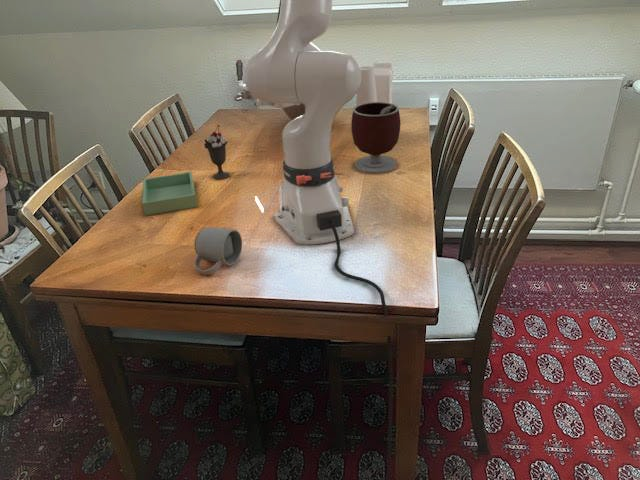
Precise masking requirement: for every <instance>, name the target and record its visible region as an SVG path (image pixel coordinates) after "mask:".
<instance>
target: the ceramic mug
mask: <svg viewBox="0 0 640 480" xmlns="http://www.w3.org/2000/svg"><path fill="white" fill-rule="evenodd" d="M242 250H243V239H242V235H241V233H240V232H239V231H238V229H234V228H223V227H215V226H214V227H213V226H209V227H208V226H207V227H203V228H201V229H200V230H199V231H198V233H197V234H196V236H195V239H194V251H195V253H196V255H197V256H196V258H195V259H194V267H195V269H196V271H197V272H198V273H199V274H200V275H204V276H209V275H213V274H215V273H216V272H217V271H218V270H219V269H220V268H221V267H222V265H223V266H224V265H225V266H233V265H234V264H236V263H237V262H238V261H239V259H240V257H241V254H242ZM202 260H204V261H209V262H214V265H212V266H211V267H209V268H208V269H204V270H203V269H202V268H201V267H200V264H201V261H202Z"/></svg>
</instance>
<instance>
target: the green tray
mask: <svg viewBox="0 0 640 480" xmlns="http://www.w3.org/2000/svg"><path fill="white" fill-rule="evenodd" d="M195 189H196V188H195V184H194V179H193V173H192V171H188V172H181V173H175V174H168V175H161V176H154V177H147V178H143V179H142V201H141V202H142V203H141V205H142V208H143V212H144V216H150V215H156V214H157V215H158V214H162V213H169V212H174V211H175V212H176V211H181V210H186V209H191V208H198V201H197V196H196V195H197V194H196V191H195Z"/></svg>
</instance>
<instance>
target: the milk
mask: <svg viewBox="0 0 640 480" xmlns="http://www.w3.org/2000/svg"><path fill="white" fill-rule="evenodd" d="M373 67H374V73H375V84H376V95H377V102H385V103H391V104H393V69H392V63H391V62H374V63H373Z"/></svg>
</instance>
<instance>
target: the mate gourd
mask: <svg viewBox="0 0 640 480" xmlns="http://www.w3.org/2000/svg"><path fill="white" fill-rule="evenodd" d="M400 134H401V115H400V107H399V106H398V105H397V104H395V103H392V104H391V103H385V102H370V103H364V104H360V105H355V106H354V107H353V108H352V115H351V135H352V140H353V144H354V145H355V146H356V147H357V149H358V150H359V151H360V152H361V153H364V154H368V155H367V156H363V157H361V158H360V157H359V158H358V159H357V160H356V161H355V163H354V167H355V169H356V170H357V171H359V172H362V173H366V174H373V175H374V174H375V175H377V174H385V173H389V172H392V171H394V170H395V169H396V168H397V161H396V160H395V159H394V158H393V157H390V156H387V155H383V154H387V153H389V152H391V151H392V150H393V149H395V146H397V144H398V141H399V138H400Z"/></svg>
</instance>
